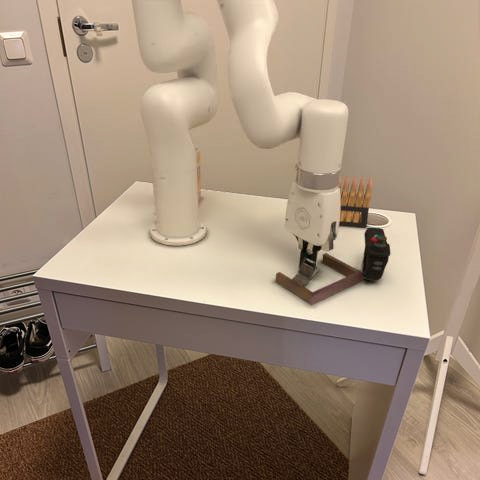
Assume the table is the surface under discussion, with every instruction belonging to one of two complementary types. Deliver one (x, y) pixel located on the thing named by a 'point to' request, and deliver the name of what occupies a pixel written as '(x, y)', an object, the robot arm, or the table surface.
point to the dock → (327, 291)
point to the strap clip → (305, 273)
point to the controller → (375, 254)
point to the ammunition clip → (355, 203)
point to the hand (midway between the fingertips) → (307, 267)
